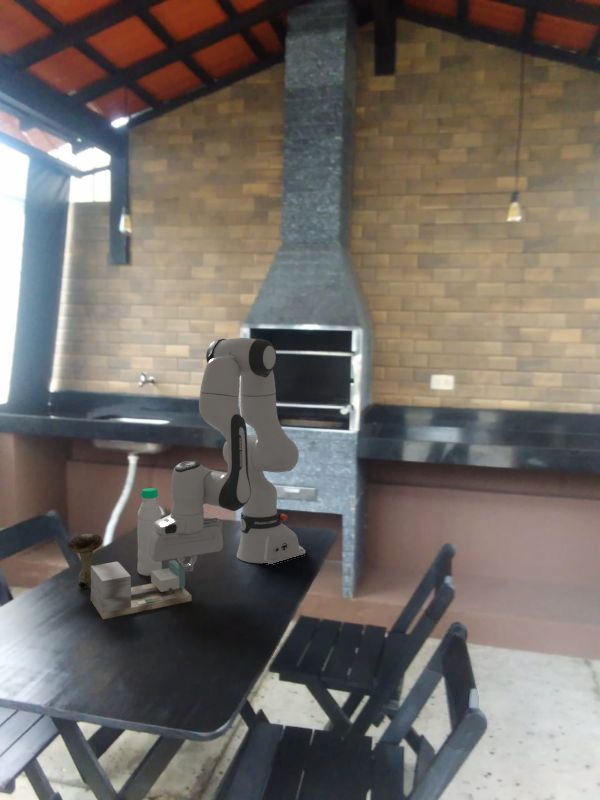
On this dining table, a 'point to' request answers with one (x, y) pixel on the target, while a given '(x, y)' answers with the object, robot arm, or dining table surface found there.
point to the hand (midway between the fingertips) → (187, 571)
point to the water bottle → (147, 531)
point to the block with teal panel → (169, 577)
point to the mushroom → (85, 555)
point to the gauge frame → (127, 592)
